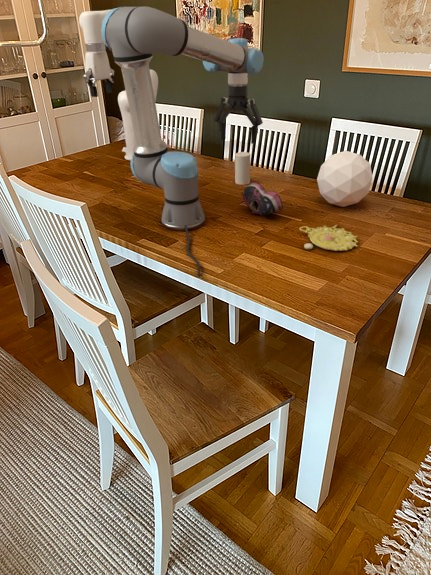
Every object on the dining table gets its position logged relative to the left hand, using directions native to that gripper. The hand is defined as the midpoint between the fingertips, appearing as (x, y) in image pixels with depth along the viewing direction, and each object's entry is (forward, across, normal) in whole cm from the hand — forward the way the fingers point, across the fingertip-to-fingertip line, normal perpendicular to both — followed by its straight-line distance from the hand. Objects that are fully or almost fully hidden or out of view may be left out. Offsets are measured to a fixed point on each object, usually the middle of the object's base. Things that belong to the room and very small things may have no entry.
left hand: (102, 94), depth 184 cm
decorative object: (+34, +23, +106) cm, 114 cm away
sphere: (+34, -8, +102) cm, 108 cm away
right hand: (+17, -14, +56) cm, 60 cm away
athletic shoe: (+34, +12, +76) cm, 85 cm away
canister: (+34, -15, +58) cm, 69 cm away
